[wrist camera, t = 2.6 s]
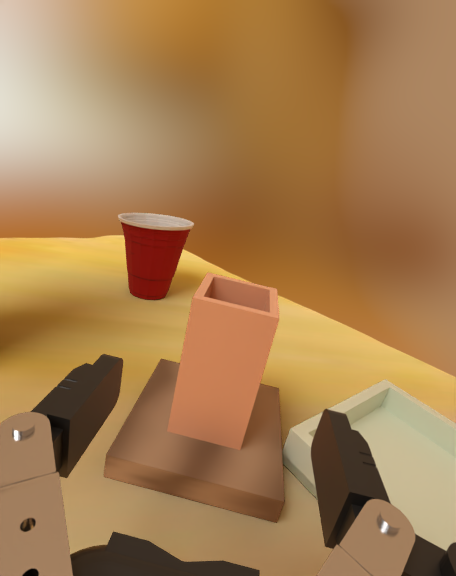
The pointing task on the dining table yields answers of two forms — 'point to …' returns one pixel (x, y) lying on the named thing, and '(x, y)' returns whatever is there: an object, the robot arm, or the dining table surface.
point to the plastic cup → (152, 251)
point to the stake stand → (201, 453)
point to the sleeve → (223, 359)
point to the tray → (396, 456)
